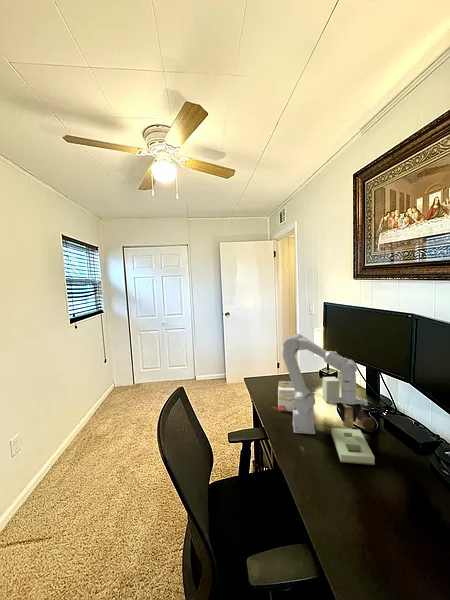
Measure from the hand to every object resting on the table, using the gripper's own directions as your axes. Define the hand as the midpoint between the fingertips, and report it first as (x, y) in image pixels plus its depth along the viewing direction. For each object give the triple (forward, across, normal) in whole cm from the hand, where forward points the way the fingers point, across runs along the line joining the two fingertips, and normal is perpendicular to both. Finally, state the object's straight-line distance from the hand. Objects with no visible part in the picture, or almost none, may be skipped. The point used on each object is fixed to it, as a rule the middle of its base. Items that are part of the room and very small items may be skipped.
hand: (348, 420), depth 126 cm
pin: (+2, 0, 0) cm, 2 cm away
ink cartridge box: (+10, +25, -28) cm, 39 cm away
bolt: (+10, -11, -19) cm, 24 cm away
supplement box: (+10, 0, -42) cm, 43 cm away
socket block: (+9, 0, +5) cm, 11 cm away
